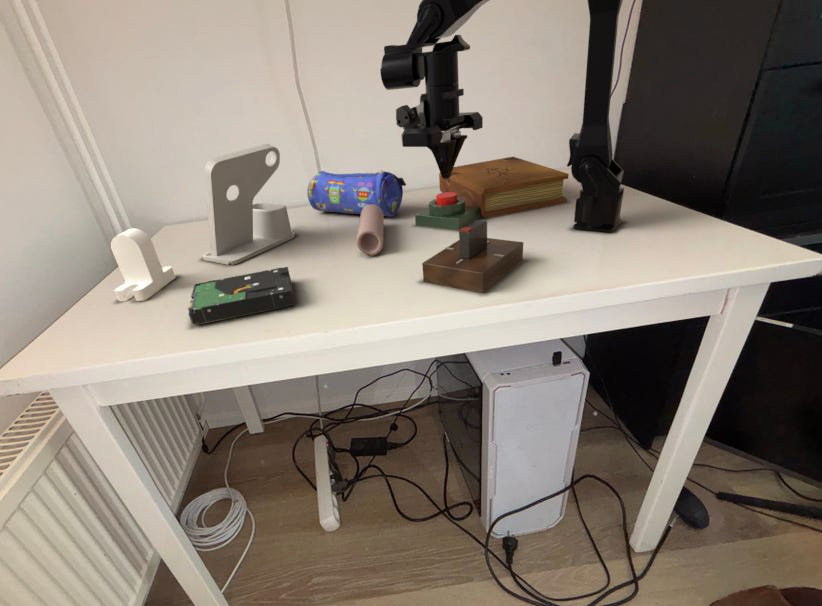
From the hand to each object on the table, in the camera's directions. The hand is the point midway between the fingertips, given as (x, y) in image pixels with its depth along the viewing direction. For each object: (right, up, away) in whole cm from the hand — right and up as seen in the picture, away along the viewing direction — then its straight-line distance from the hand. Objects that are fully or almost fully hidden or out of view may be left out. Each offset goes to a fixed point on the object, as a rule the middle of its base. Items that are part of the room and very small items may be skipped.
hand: (446, 178), depth 92 cm
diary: (+13, +1, +15) cm, 20 cm away
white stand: (-53, -22, -8) cm, 58 cm away
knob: (+2, -18, -19) cm, 27 cm away
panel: (+2, -21, -18) cm, 28 cm away
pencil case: (-18, -2, +17) cm, 25 cm away
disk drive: (-33, -26, -18) cm, 46 cm away
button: (0, -4, +3) cm, 5 cm away
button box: (+1, -7, +4) cm, 8 cm away
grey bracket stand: (-38, -12, +5) cm, 41 cm away
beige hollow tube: (-14, -12, 0) cm, 18 cm away
